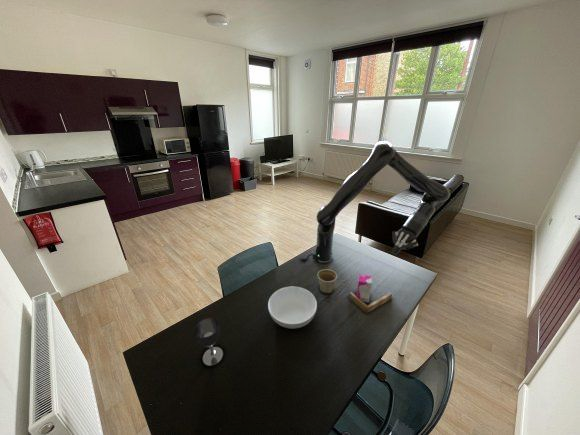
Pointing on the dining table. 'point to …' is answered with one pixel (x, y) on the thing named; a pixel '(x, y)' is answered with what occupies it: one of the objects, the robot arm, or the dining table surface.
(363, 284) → the supplement box
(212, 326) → the wine glass
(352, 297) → the corner fence
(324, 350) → the dining table surface
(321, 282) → the flower pot
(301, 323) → the serving bowl
